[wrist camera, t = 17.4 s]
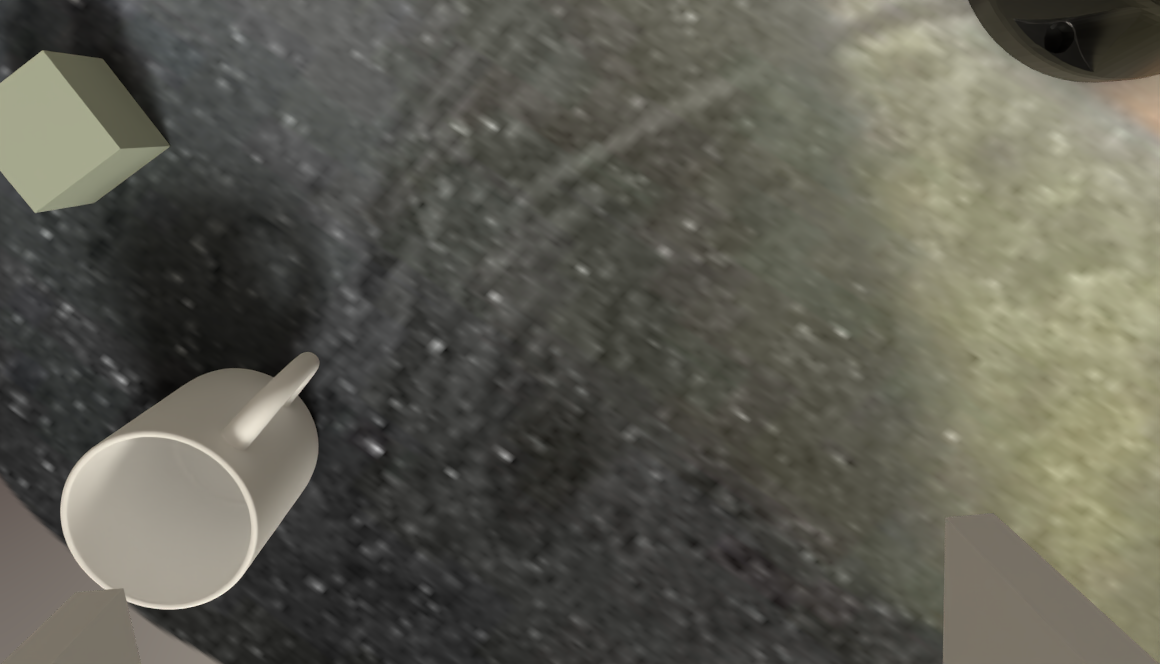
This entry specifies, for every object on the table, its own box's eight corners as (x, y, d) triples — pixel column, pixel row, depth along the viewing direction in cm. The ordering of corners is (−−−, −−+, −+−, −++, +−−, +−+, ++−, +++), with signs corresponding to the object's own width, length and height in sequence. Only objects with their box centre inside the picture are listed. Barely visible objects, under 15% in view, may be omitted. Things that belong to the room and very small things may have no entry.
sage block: (103, 58, 42) (42, 50, 37) (171, 146, 43) (120, 148, 38) (26, 118, 42) (-44, 117, 38) (94, 202, 43) (35, 212, 39)
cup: (136, 442, 46) (20, 529, 36) (274, 280, 44) (191, 326, 35) (259, 537, 48) (179, 645, 38) (398, 384, 46) (352, 456, 36)
